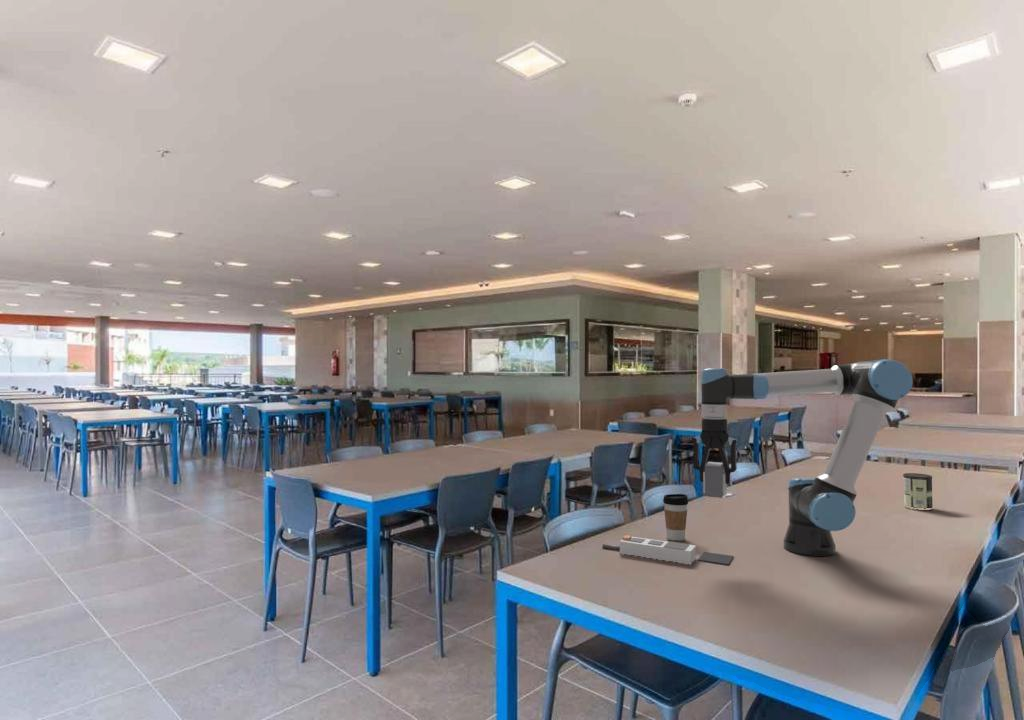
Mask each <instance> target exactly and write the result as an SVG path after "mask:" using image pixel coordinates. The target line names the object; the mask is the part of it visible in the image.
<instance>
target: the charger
mask: <svg viewBox="0 0 1024 720" xmlns="http://www.w3.org/2000/svg"><path fill="white" fill-rule="evenodd" d="M724 472H725V470H724V467H723V463H722V462H717V461H716V462H715V461H707V463H706V465H705V493H704V497H707V498H709V497H710V498H719V499H720V498H721V499H723V498H724V497H725V496H726V495H723V473H724Z"/></svg>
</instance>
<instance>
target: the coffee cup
mask: <svg viewBox="0 0 1024 720" xmlns="http://www.w3.org/2000/svg"><path fill="white" fill-rule="evenodd" d="M688 498H689V497H688V495H687V494H684V493H674V494H673V493H672V494H669V493H668V494H665V495H664V496H663V499H662V501H663V502H662V503H663V505H664V508H663V510H664V519H665V520H664V521H665V529H666V537H667V539H668V540H669V539H671V540H670V541H674V540H682V541H684V540H685V539H686V529H687V528H686V526H687V518H688V517H687V516H688V509H687V506H688V504H689V500H688Z"/></svg>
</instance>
